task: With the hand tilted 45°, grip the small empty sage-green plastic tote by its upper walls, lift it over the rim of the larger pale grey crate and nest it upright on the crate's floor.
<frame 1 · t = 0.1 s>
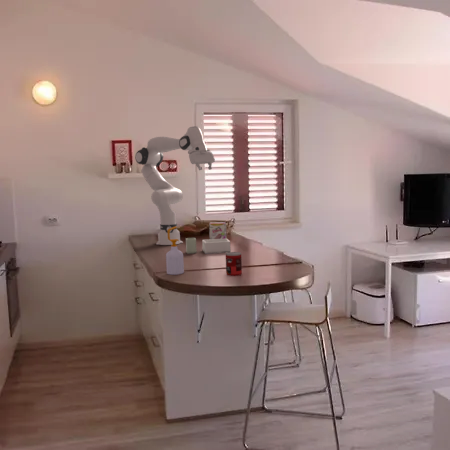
hand: (205, 169, 364), 52 cm above the worktop, tool tilted 20°, fingers open, 8 cm apart
crate: (216, 251, 356), on the worktop
candy bar box: (218, 247, 374), on the worktop
small tote: (191, 252, 354), on the worktop
soap bottle: (175, 273, 292), on the worktop
canned food: (234, 274, 284), on the worktop
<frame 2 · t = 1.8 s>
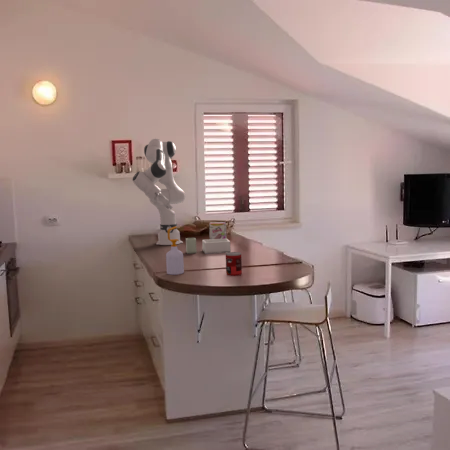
hand: (170, 208, 349), 29 cm above the worktop, tool tilted 45°, fingers open, 8 cm apart
nothing on the worktop moved.
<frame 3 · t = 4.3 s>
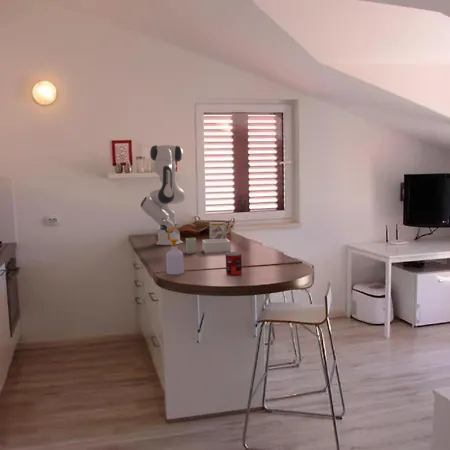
hand: (178, 232, 351), 13 cm above the worktop, tool tilted 45°, fingers open, 8 cm apart
nothing on the worktop moved.
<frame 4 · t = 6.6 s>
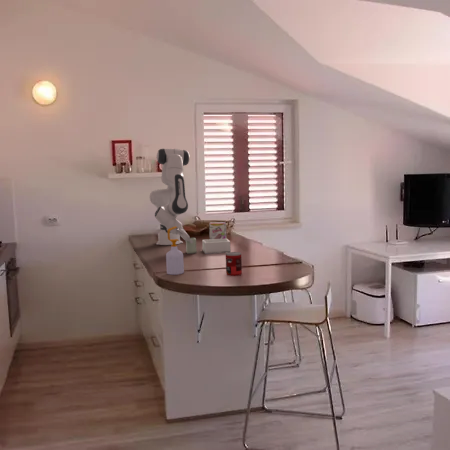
hand: (191, 241, 354), 7 cm above the worktop, tool tilted 45°, fingers closed on small tote, 6 cm apart
small tote: (191, 252, 354), on the worktop, touching gripper
everything else where it was.
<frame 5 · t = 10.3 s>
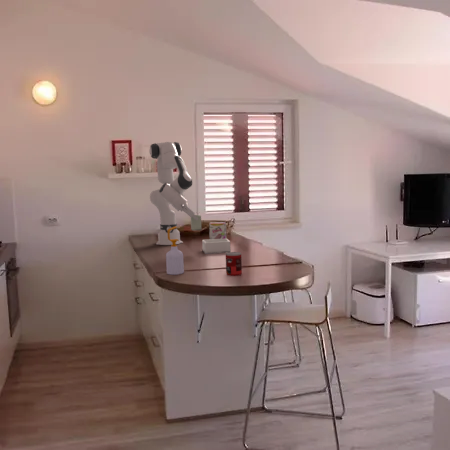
hand: (196, 218, 352), 21 cm above the worktop, tool tilted 45°, fingers closed on small tote, 6 cm apart
small tote: (196, 229, 353), point 15 cm above the worktop, touching gripper
everything else where it was.
when the fingers open (9 cm above the worktop, at t = 14.1 s): small tote stays where it is, resting on crate.
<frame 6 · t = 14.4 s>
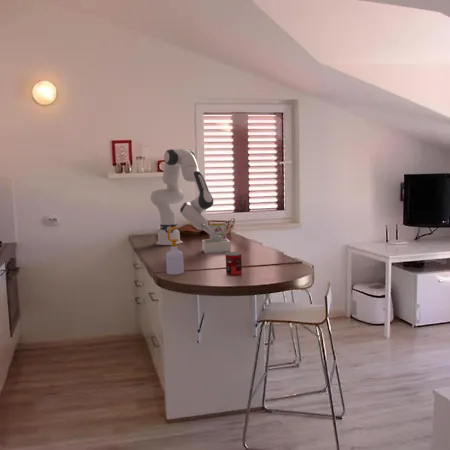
hand: (216, 237, 355), 9 cm above the worktop, tool tilted 45°, fingers open, 8 cm apart
small tote: (216, 249, 356), point 1 cm above the worktop, touching crate
everything else where it was.
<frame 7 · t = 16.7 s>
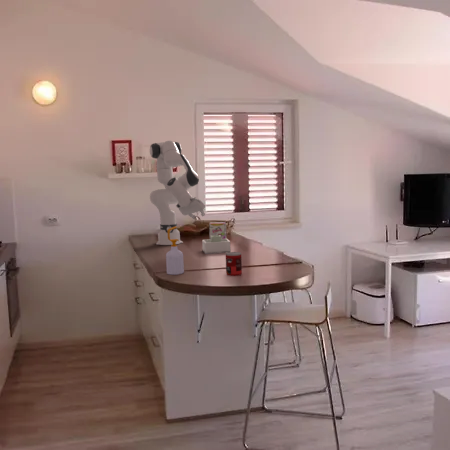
hand: (199, 216, 355), 22 cm above the worktop, tool tilted 35°, fingers open, 8 cm apart
nothing on the worktop moved.
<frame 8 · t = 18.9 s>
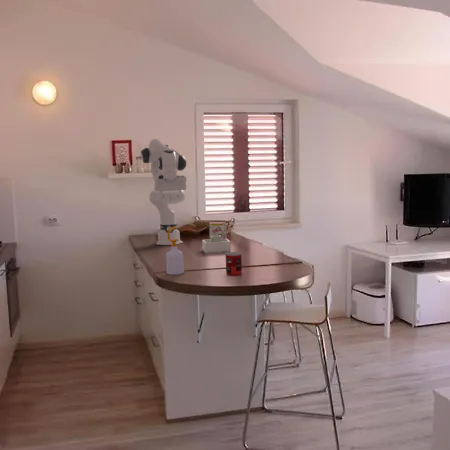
hand: (170, 197, 355), 35 cm above the worktop, tool pointing down, fingers open, 8 cm apart
nothing on the worktop moved.
at the end: small tote inside the target area on the crate (0.1 cm from its centre), point 1.0 cm above the crate's base; small tote tilted 0°; the gripper is holding nothing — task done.
